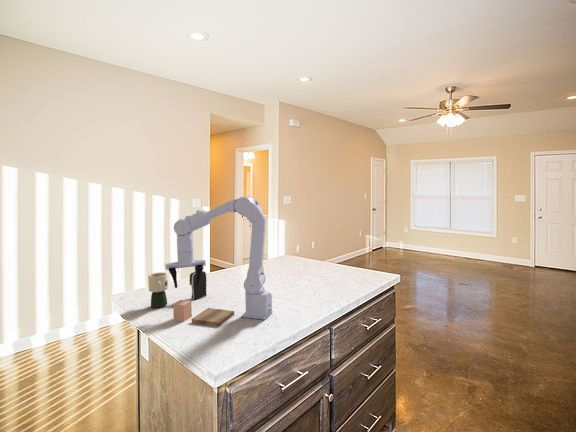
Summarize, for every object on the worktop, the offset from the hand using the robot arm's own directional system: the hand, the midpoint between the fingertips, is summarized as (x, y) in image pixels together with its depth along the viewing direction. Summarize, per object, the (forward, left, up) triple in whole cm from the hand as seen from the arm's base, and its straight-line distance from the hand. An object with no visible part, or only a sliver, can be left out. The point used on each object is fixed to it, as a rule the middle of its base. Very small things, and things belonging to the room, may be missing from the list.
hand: (186, 286), depth 124 cm
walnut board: (-13, +3, -11) cm, 17 cm away
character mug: (+15, -2, -10) cm, 18 cm away
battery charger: (+6, -16, -10) cm, 20 cm away
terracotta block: (-2, +6, -10) cm, 12 cm away
